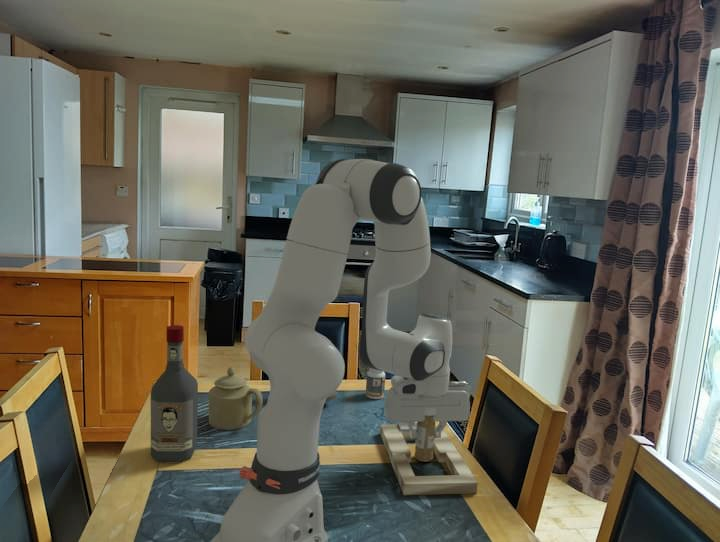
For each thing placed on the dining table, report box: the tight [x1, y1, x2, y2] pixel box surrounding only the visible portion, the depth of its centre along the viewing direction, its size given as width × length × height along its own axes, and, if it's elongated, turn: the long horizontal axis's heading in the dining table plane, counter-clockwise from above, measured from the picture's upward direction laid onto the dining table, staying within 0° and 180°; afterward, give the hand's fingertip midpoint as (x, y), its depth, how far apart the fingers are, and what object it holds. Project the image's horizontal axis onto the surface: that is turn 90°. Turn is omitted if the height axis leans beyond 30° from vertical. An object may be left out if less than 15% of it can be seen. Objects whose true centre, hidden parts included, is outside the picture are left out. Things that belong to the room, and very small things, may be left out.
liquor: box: [150, 324, 199, 464], centre depth 122 cm, size 9×9×30 cm
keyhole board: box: [379, 422, 478, 496], centre depth 128 cm, size 28×16×3 cm, turn 8°
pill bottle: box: [365, 368, 386, 400], centre depth 165 cm, size 6×6×10 cm
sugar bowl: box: [208, 366, 264, 431], centre depth 141 cm, size 15×11×15 cm
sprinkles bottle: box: [413, 408, 436, 463], centre depth 128 cm, size 5×5×14 cm
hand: (425, 437), depth 128 cm, fingers closed on sprinkles bottle, 4 cm apart
